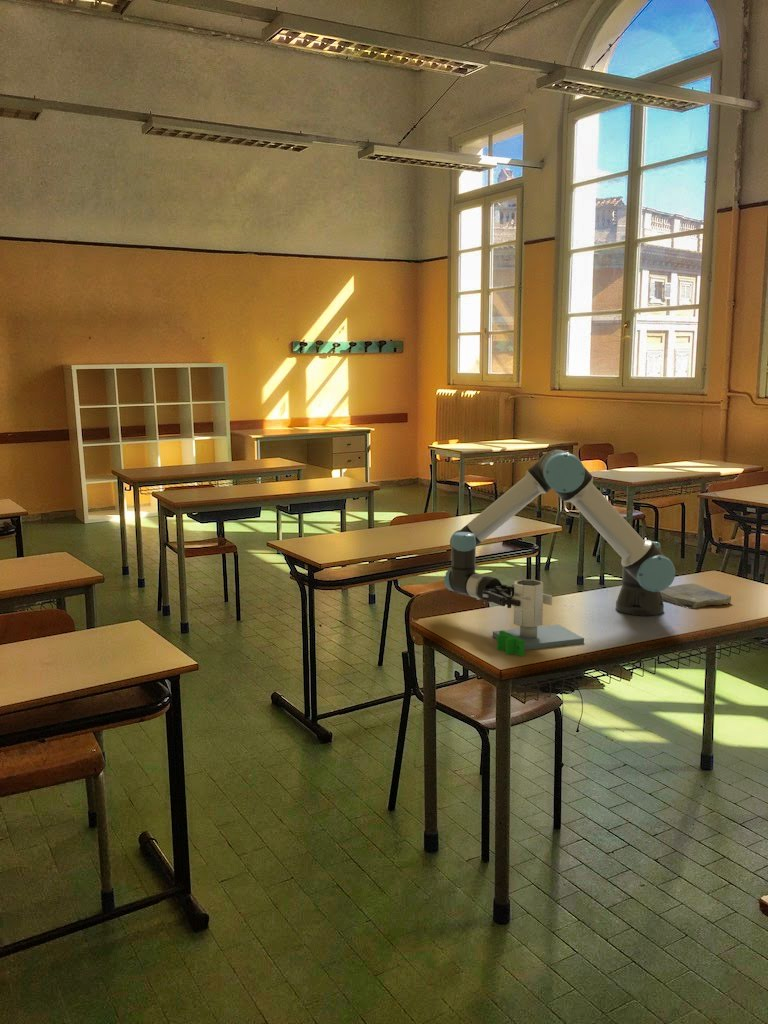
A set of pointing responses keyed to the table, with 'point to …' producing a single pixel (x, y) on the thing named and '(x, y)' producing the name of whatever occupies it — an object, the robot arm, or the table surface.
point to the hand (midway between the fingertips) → (540, 603)
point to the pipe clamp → (510, 644)
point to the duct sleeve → (535, 594)
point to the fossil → (693, 596)
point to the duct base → (544, 636)
